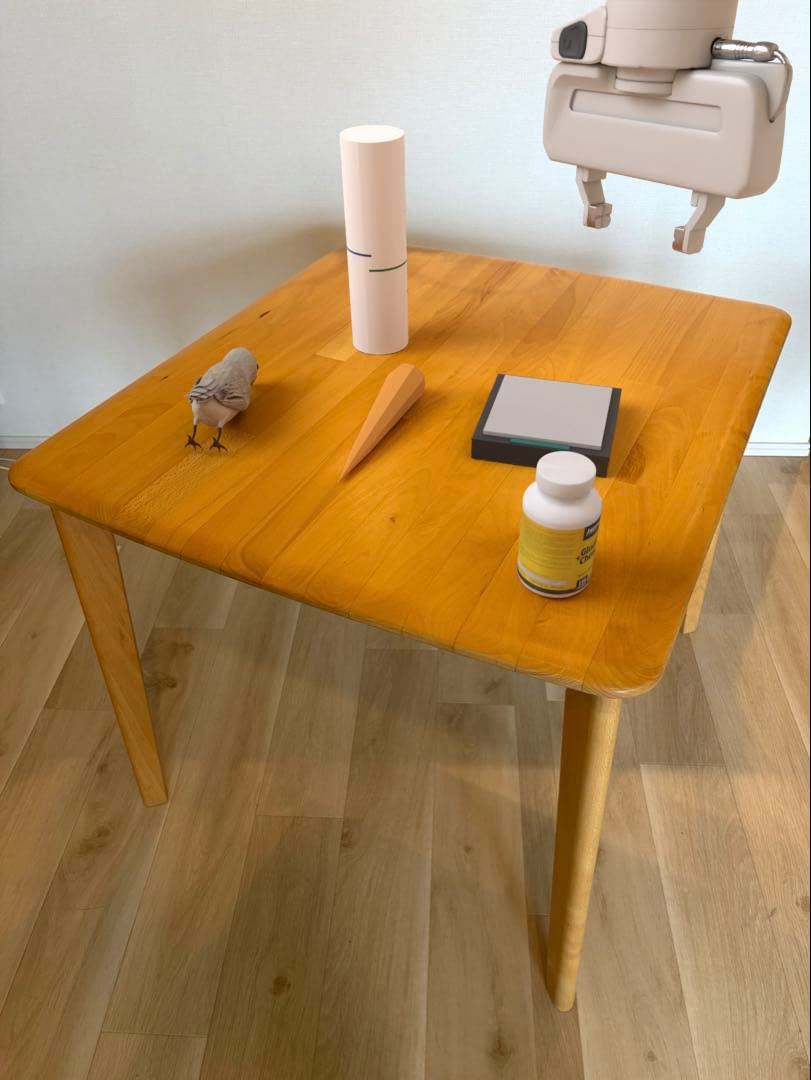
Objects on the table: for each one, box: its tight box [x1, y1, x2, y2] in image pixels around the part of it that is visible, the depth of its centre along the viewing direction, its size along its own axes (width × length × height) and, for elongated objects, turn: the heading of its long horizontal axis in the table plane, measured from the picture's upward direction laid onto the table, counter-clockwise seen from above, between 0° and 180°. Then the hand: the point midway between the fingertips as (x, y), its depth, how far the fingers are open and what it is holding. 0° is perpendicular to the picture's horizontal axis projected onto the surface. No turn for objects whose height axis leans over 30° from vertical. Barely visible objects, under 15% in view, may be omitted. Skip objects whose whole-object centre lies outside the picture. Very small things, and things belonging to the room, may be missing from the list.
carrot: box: [337, 362, 426, 483], centre depth 92 cm, size 20×4×4 cm, turn 157°
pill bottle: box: [516, 451, 603, 599], centre depth 71 cm, size 6×6×12 cm
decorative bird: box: [183, 346, 260, 453], centre depth 94 cm, size 5×16×8 cm, turn 169°
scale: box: [470, 373, 623, 478], centre depth 92 cm, size 14×14×3 cm
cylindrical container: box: [339, 124, 409, 356], centre depth 102 cm, size 7×7×25 cm
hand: (639, 238), depth 67 cm, fingers open, 8 cm apart
